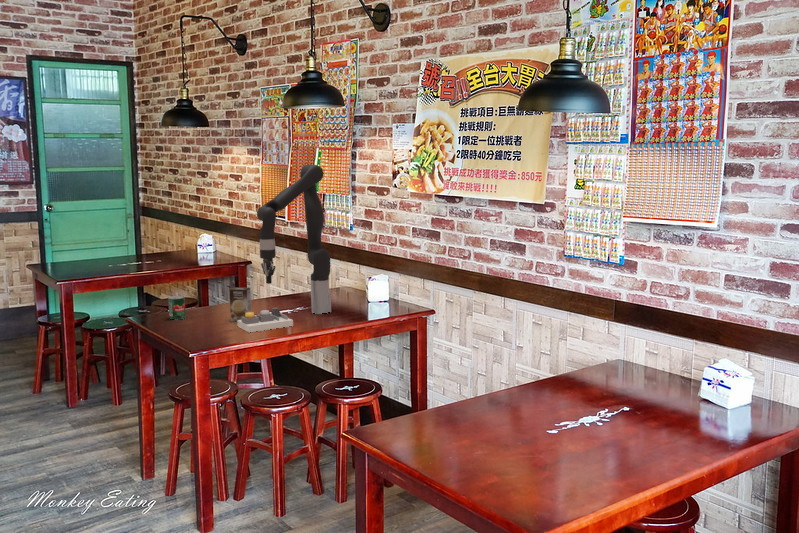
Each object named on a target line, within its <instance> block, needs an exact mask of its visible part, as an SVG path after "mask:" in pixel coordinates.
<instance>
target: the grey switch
mask: <svg viewBox="0 0 799 533" xmlns="http://www.w3.org/2000/svg"><path fill="white" fill-rule="evenodd" d="M269 313H270V310H268V309H262V310H260V314H261V316H262V317H263V316H269Z"/></svg>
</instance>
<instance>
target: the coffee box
mask: <svg viewBox="0 0 799 533" xmlns="http://www.w3.org/2000/svg"><path fill="white" fill-rule="evenodd" d="M251 291H252V290H251V287H244V286H243V287H242V286H241V287H239V286H237V287H235V286H233V287H231V288H230V289H229V312H230V322H235V323H236V322H237V320H241V317H243V316H245V313H246V312H252V299H251V297H252V296H251V294H252V292H251Z"/></svg>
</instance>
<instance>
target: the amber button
mask: <svg viewBox="0 0 799 533" xmlns="http://www.w3.org/2000/svg"><path fill="white" fill-rule="evenodd" d="M254 315H255V312H253V311H251V312H246V313H245V316H246V318H247V319H248V318H254Z"/></svg>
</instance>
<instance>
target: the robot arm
mask: <svg viewBox="0 0 799 533" xmlns="http://www.w3.org/2000/svg"><path fill="white" fill-rule="evenodd" d="M299 176H300V178H299V179H298V180H297V181H295V182H293V184H291V185H289V186H287V187H286V188H284V189H283V190H281V191H280V192H279V193H277V195H275V197H273V198H272V199H271V200H269V201H268V202H265V203H264V204H262V205H261V206H260V207H259V208H258V209H257V212H256V218H257V219H258V220H259V221H262V224H261V227H260V228H259V257H260V259H262V263H261V264H260V265H261V268H262V269H261V270H262V272H263V274H264V276H265V282H266V283H265V284H268V285H270V284H272V276H274V274H275V271H276V265H274V260H273V259H275V258H277V256H276V255H277V254H276V240H275V237H276V236H275V228H276V222H277V214H276V213H277V212H281V211H283V210H284V209H285V208H286V207H288V206H289V205H290V204H291V203H293V201H294V200H295V199H297V198H298V197H299V196H301V195H302V194H303V202H304V214H305V224H306V226H305V227H306V235H307V261H308V262H309V264H311V265H312V266H313V271H312V273H311V274H310V297H311V298H310V299H311V301H310V302H311V313H312V314H313V313H315V314H314V315H323V314H322V313H327V314H329V313H328V312H330V313H332V295H331V293H330V274H331V256H330V255H331V254H330V252H329V251H328V250H326V249H325V248H323V245H322V233H323V229H324V226H325V214H324V208H323V204H322V202H321V199H320V198H319V194H318V191H317V184H318V183H320V182H321V181H322V180H323V178H324V170H323V168H322V166H319V165H317V164H305V165H303V166H302V168H301V169H300V173H299Z"/></svg>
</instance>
